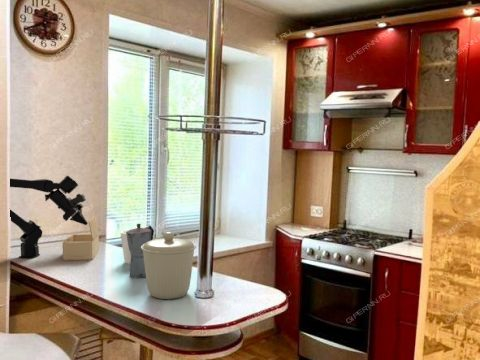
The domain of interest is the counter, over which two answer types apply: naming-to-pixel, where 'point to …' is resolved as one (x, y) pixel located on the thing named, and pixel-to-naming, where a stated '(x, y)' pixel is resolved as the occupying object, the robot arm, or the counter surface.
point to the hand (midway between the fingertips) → (87, 224)
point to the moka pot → (138, 249)
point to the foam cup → (125, 247)
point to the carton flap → (93, 227)
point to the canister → (168, 266)
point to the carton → (80, 247)
